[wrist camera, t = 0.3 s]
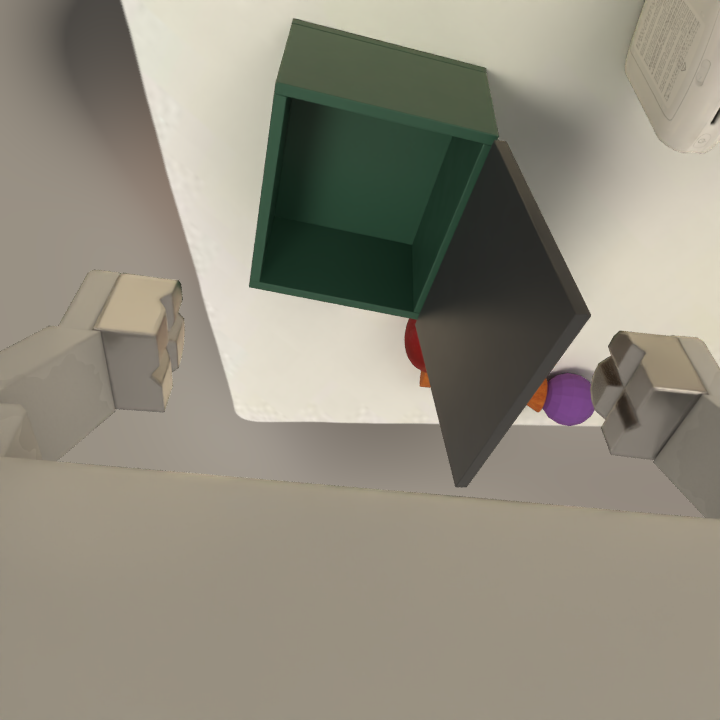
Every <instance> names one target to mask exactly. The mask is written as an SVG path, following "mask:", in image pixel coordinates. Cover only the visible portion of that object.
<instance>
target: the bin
mask: <svg viewBox="0 0 720 720" xmlns="http://www.w3.org/2000/svg"><path fill="white" fill-rule="evenodd" d="M486 73H487V72H486V68H483V67H480V66H476V65H472V64H468V63H464V62H460V61H456V60H452V59H449V58H445V57H441V56H437V55H433V54H429V53H425V52H421V51H418V50H414V49H410V48H406V47H402V46H398V45H394V44H390V43H386V42H383V41H379V40H375V39H371V38H367V37H363V36H359V35H355V34H352V33H348V32H344V31H340V30H336V29H332V28H328V27H324V26H321V25H317V24H313V23H309V22H305V21H301V20H297V19H293V21H292V25H291V29H290V32H289V36H288V39H287V43H286V47H285V50H284V54H283V58H282V61H281V65H280V68H279V72H278V76H277V79H276V83H275V91H274V92H275V93H274V98H273V106H272V114H271V121H270V129H269V137H268V145H267V152H266V160H265V168H264V175H263V183H262V191H261V198H260V206H259V214H258V221H257V229H256V237H255V244H254V252H253V260H252V268H251V275H250V283H249V287H251V288H256V289H261V290H266V291H272V292H277V293H282V294H287V295H292V296H297V297H303V298H308V299H313V300H318V301H323V302H328V303H333V304H339V305H344V306H349V307H354V308H359V309H364V310H370V311H375V312H380V313H385V314H390V315H395V316H401V317H406V318H411V319H416V320H417V319H418V316H419V314H420V312H421V309H422V307H423V305H424V302H425V300H426V298H427V295H428V293H429V291H430V288H431V286H432V284H433V281H434V279H435V277H436V274H437V272H438V270H439V267H440V265H441V263H442V260H443V258H444V256H445V253H446V251H447V249H448V246H449V244H450V242H451V239H452V237H453V235H454V232H455V230H456V228H457V225H458V223H459V221H460V218H461V216H462V214H463V211H464V209H465V207H466V204H467V202H468V200H469V197H470V195H471V193H472V190H473V188H474V186H475V183H476V181H477V179H478V176H479V174H480V172H481V170H482V167H483V165H484V163H485V160H486V158H487V156H488V153H489V151H490V149H491V146H492V144H493V142H494V140H498V137H499V134H498V129H497V124H496V119H495V114H494V109H493V104H492V99H491V94H490V89H489V84H488V79H487V74H486Z"/></svg>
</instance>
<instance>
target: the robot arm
mask: <svg viewBox="0 0 720 720" xmlns="http://www.w3.org/2000/svg"><path fill="white" fill-rule="evenodd" d="M182 300H183V297H182V287H181V283H180V282H179V280H172V279H165V278H158V277H150V276H143V275H135V274H127V273H119V272H111V271H102V270H92V271H90V272H89V273H88V274H87V276H86V277H85V279H84V281H83V283H82V284H81V286H80V288H79V290H78V292H77V293H76V295H75V297H74V299H73V301H72V302H71V304H70V306H69V307H68V309H67V311H66V313H65V314H64V316H63V318H62V320H61V322H60V324H59V325H58V327H57V326H48V327H46V328H44V329H42V330H40V331H38V332H36V333H34V334H32V335H30V336H29V337H27V338H25V339H23V340H21V341H19V342H17V343H15V344H13V345H12V346H9V347H7V348H6V349H4V350H2V351H0V720H720V368H719V366H718V365H717V363H716V361H715V360H714V358H713V356H712V355H711V353H710V351H709V349H708V348H707V346H706V344H705V343H704V342H703V341H702V340H700V339H699V338H697V337H686V336H675V335H671V336H666V335H656V334H647V333H638V332H629V331H619V332H618V333H617V334H616V335H614V337H613V338H612V340H611V342H610V344H609V345H608V348H609V351H610V354H611V356H610V357H608V358H606V359H605V360H603V361H602V362H600V363H599V364H598V366H597V368H596V370H595V372H594V374H593V376H592V382H591V388H590V392H591V401H592V404H593V407H594V410H595V411H596V412H597V413H599V414H600V415H601V416H602V417H603V418H604V419H605V422H604V423H603V425H602V427H601V429H602V432H603V434H604V437H605V440H606V443H607V446H608V449H609V451H610V454H611V455H616V456H624V457H633V458H641V459H650V460H654V461H653V462H654V464H656V466H657V467H658V468H659V469H660V470H661V471H662V472H663V473H664V474H665V475H666V476H667V477H668V478H669V480H670V481H671V482H672V483H673V484H674V485H675V486H676V487H677V488H678V489H679V490H680V491H681V492H682V493H683V495H684V496H685V497H686V498H687V499H688V500H689V501H690V502H691V503H692V504H693V505H694V506H695V507H696V508H697V510H698V511H699V512H700V513H701V514H702V515H703V516H704V517H705V518H702V517H690V516H678V515H666V514H652V513H642V512H630V511H620V510H609V509H597V508H586V507H575V506H564V505H553V504H542V503H530V502H519V501H507V500H496V499H485V498H473V497H462V496H450V495H439V494H438V495H437V494H427V493H416V492H404V491H392V490H379V489H368V488H358V487H345V486H335V485H323V484H312V483H300V482H289V481H277V480H265V479H254V478H243V477H231V476H220V475H208V474H197V473H185V472H174V471H163V470H151V469H140V468H128V467H116V466H105V465H94V464H82V463H71V462H59V461H57V460H59V459H60V458H61V457H62V456H64V455H65V454H66V453H67V452H68V451H70V449H72V448H73V447H74V446H75V445H77V444H78V443H79V442H80V441H81V440H82V439H84V438H85V437H86V436H87V435H88V434H89V433H91V432H92V431H93V430H94V429H95V428H97V427H98V426H99V425H100V424H101V423H102V422H104V421H105V420H106V419H107V418H108V417H110V416H111V415H112V414H113V413H114V412H115V409H123V410H137V411H152V412H165V408H166V405H167V403H168V399H169V396H170V393H171V390H172V387H173V379H172V372H173V371H175V370H176V369H178V368H179V365H180V361H181V358H182V353H183V346H184V337H185V326H184V318H183V317H182V316H181V315H180V313H179V309H180V306H181V303H182Z"/></svg>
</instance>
